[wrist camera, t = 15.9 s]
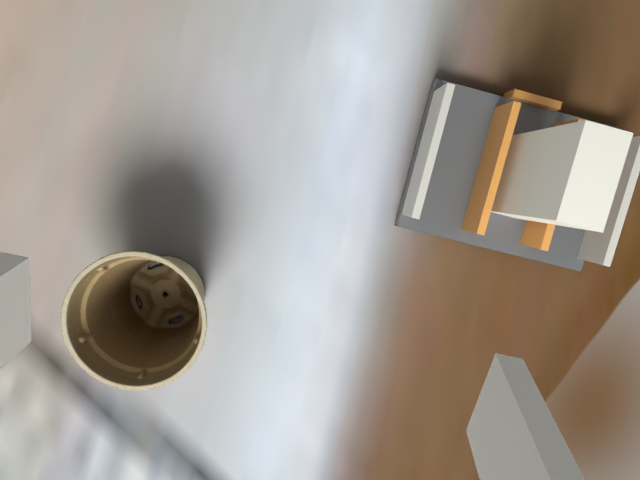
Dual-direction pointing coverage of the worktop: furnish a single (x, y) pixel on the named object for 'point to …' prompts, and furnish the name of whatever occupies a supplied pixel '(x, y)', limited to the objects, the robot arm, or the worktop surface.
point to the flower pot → (135, 319)
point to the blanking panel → (563, 175)
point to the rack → (496, 177)
